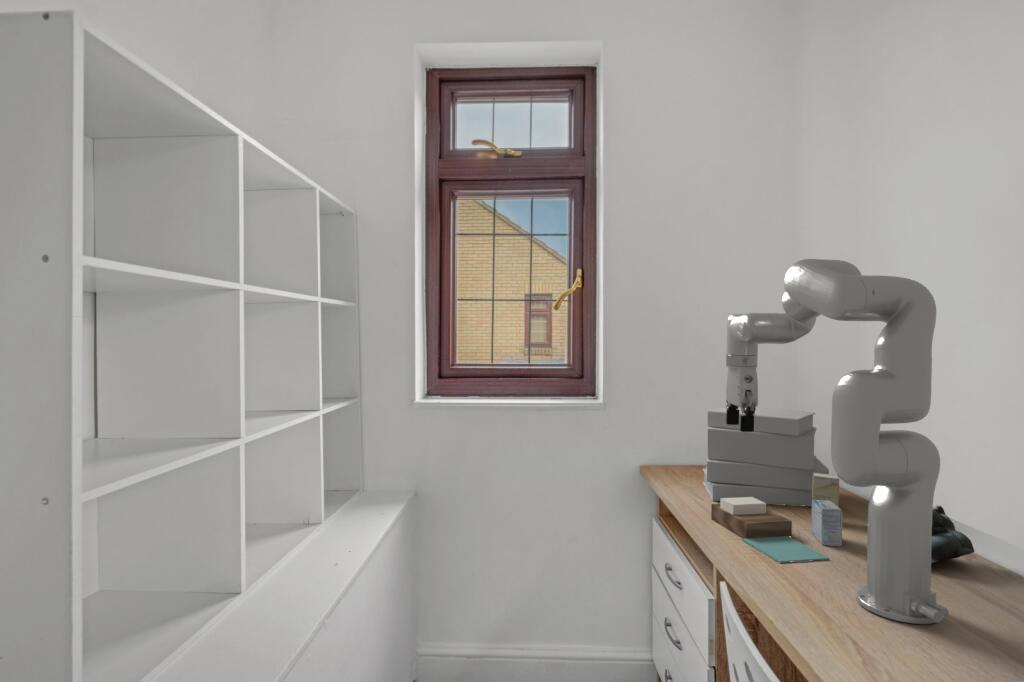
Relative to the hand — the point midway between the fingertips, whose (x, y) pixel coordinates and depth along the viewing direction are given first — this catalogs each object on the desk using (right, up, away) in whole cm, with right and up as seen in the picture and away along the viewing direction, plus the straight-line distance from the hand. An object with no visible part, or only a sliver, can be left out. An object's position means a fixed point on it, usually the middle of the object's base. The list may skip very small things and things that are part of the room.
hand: (739, 427), depth 151 cm
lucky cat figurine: (+31, -26, -24) cm, 47 cm away
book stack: (+18, -25, +28) cm, 41 cm away
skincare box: (+23, -25, +2) cm, 34 cm away
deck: (+1, -25, -4) cm, 25 cm away
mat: (+3, -25, -19) cm, 31 cm away
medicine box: (+16, -25, -12) cm, 32 cm away
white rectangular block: (0, -19, -3) cm, 20 cm away
